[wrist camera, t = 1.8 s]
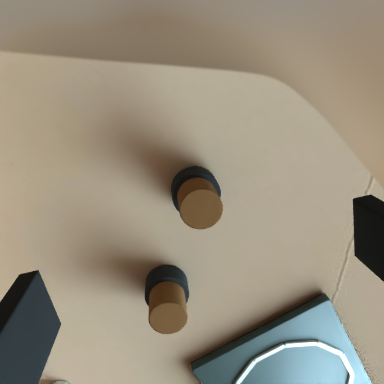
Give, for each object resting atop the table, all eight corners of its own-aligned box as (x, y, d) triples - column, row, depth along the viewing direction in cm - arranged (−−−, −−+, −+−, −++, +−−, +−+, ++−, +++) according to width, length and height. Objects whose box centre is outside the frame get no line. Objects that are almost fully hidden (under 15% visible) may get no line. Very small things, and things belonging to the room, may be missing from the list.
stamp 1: (173, 257, 31) (176, 290, 26) (194, 288, 32) (201, 324, 28) (137, 277, 31) (134, 313, 27) (159, 307, 33) (160, 345, 28)
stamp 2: (203, 157, 28) (212, 173, 23) (224, 195, 29) (237, 217, 25) (162, 180, 28) (163, 201, 24) (185, 217, 30) (191, 243, 25)
